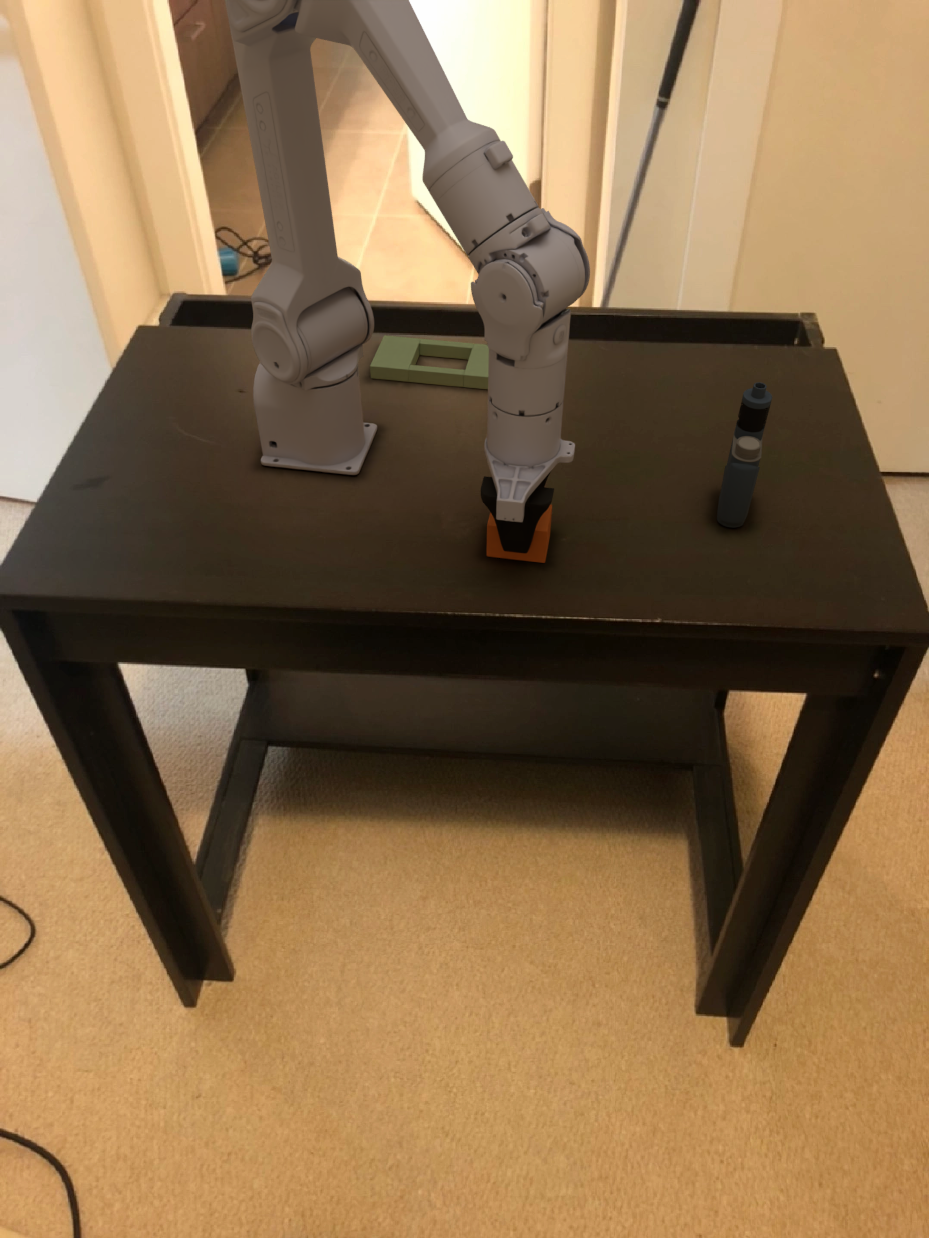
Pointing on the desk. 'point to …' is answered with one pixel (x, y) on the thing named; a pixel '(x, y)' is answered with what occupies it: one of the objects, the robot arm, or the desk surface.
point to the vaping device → (744, 457)
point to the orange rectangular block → (538, 544)
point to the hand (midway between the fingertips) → (519, 533)
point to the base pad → (400, 365)
